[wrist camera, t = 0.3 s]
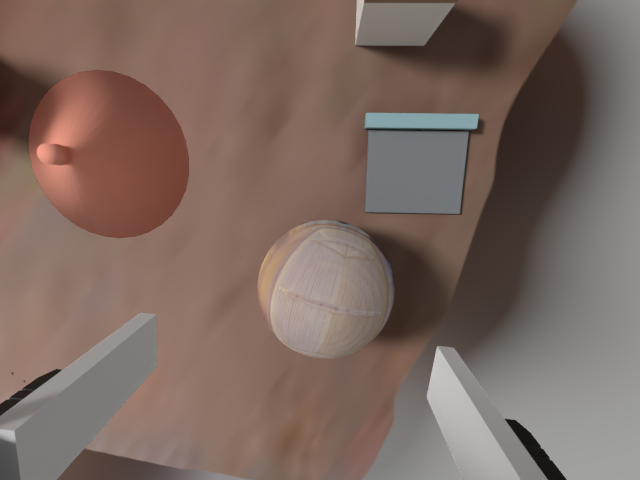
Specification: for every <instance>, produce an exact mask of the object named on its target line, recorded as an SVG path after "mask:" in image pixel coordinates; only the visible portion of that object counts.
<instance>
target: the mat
mask: <svg viewBox="0 0 640 480" xmlns="http://www.w3.org/2000/svg"><path fill="white" fill-rule="evenodd" d="M468 134H469V131H391V130H369V132H368V154H367V176H366V198H365V212H387V213H440V214H460V206H461V197H462V188H463V179H464V170H465V161H466V152H467V143H468Z"/></svg>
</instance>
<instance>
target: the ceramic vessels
mask: <svg viewBox="0 0 640 480" xmlns="http://www.w3.org/2000/svg"><path fill="white" fill-rule="evenodd" d="M29 153H30V160H31V164H32V167H33V171H34V174H35V177H36V179H37V181H38V183H39V185H40V187H41V189H42V191H43V192H44V194H45V195H46V197H47V198H48V199H49V201H50V202H51V204H52V205H53V206H54V207H55V208H56V209H57V210H58V211H59V212H60V213H61V214H62V215H63V216H64V217H66V218H67V219H69V220H70V221H71V222H73V223H74V224H75V225H77V226H79V227H81V228H83V229H85V230H87V231H89V232H92V233H95V234H99V235H102V236H106V237H116V238H125V237H135V236H138V235H141V234H144V233H147V232H150V231H151V230H153V229H155V228H157V227H158V226H160V225H162V224H163V223H164V222H165V221H166V220H167V219H168V218H169V217H170V216H171V215H172V214H173V213H174V211H175V210H176V208H177V207H178V205H179V204H180V202H181V200H182V197H183V195H184V193H185V190H186V186H187V181H188V176H189V156H188V150H187V145H186V140H185V138H184V135H183V133H182V130H181V127H180V125H179V123H178V121H177V120H176V118H175V116H174V115H173V113H172V111H171V110H170V109H169V107H168V106H167V105H166V104H165V103H164V102H163V100H162V99H161V98H160V97H159V96H158V95H157V94H155V93H154V92H153V91H152V90H150V89H149V88H148V87H147V86H145V85H144V84H142V83H140V82H138V81H136V80H135V79H133V78H131V77H129V76H126V75H122V74H119V73H116V72H112V71H101V70H93V71H85V72H79V73H77V74H74V75H71V76H68V77H66V78H64V79H63V80H61V81H60V82H58V83H57V84H55V85H54V86H52V88H51V89H50V90H49V91H48V92H47V93H46V94H45V95H44V96H43V97H42V99H41V101H40V103H39V104H38V106H37V108H36V110H35V112H34V115H33V118H32V121H31V125H30V132H29Z"/></svg>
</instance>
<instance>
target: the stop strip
mask: <svg viewBox="0 0 640 480" xmlns="http://www.w3.org/2000/svg"><path fill="white" fill-rule="evenodd" d="M478 116H479V114H424V113H366V115H365V129H402V130H474V129H477V124H478Z"/></svg>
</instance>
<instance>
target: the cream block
mask: <svg viewBox="0 0 640 480" xmlns="http://www.w3.org/2000/svg"><path fill="white" fill-rule="evenodd" d="M457 1H458V0H357V12H356V40H355V45H367V46H424V45H425V44H426V43H427V41H428V40H429V38H430V37H431V36H432V34H433V33H434V32H435V30H436V29H437V28H438V26H439V25H440V24H441V22H442V21H443V20H444V18H445V17H446V15H447V14H448V13H449V11H450V10H451V9H452V7H453V6H454V5H455V3H456V2H457Z"/></svg>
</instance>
